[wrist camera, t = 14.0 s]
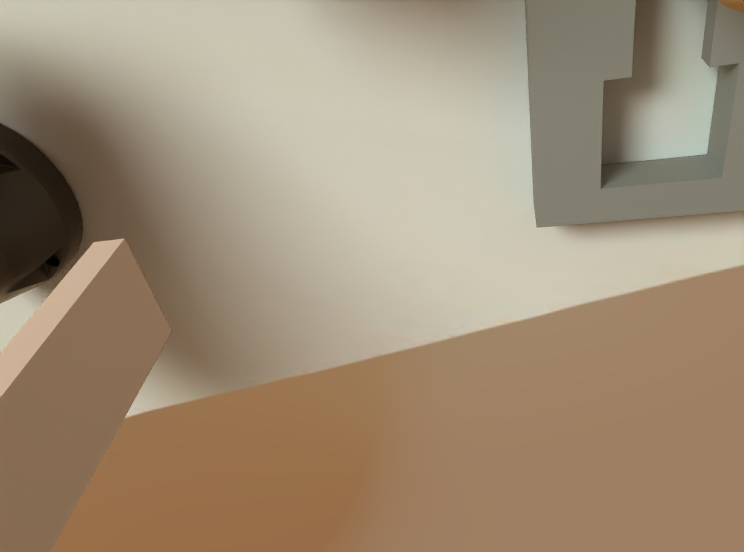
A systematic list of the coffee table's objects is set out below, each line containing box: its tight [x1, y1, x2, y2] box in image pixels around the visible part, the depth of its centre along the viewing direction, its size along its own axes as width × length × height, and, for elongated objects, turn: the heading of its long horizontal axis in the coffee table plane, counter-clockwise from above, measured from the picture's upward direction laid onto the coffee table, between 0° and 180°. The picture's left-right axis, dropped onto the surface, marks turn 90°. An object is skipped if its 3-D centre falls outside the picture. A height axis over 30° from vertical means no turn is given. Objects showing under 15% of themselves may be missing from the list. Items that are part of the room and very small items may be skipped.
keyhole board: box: [525, 0, 744, 227], centre depth 34 cm, size 15×24×3 cm, turn 11°
